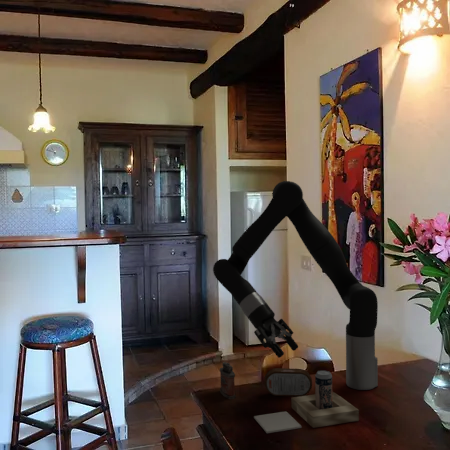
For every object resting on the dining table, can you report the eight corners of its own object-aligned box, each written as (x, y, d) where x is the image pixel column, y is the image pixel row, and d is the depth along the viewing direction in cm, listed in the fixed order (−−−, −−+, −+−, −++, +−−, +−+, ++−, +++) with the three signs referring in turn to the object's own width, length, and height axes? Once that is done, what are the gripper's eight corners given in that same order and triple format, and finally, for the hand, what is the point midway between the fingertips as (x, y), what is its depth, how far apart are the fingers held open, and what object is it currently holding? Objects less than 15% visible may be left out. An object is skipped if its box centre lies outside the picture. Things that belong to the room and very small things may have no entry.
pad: (286, 413, 142) (286, 411, 142) (301, 427, 132) (301, 426, 132) (253, 417, 139) (253, 416, 139) (266, 433, 129) (266, 431, 129)
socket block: (333, 401, 149) (333, 391, 149) (358, 420, 136) (358, 409, 136) (291, 407, 145) (291, 397, 145) (313, 427, 132) (313, 416, 132)
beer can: (322, 418, 137) (322, 376, 137) (312, 412, 142) (311, 371, 141) (336, 415, 140) (335, 373, 139) (325, 409, 144) (325, 368, 143)
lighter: (217, 390, 159) (217, 360, 159) (227, 389, 161) (226, 359, 160) (227, 399, 152) (227, 368, 152) (237, 397, 153) (237, 366, 153)
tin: (312, 394, 156) (311, 368, 155) (312, 398, 152) (312, 371, 152) (264, 393, 157) (264, 367, 157) (264, 396, 154) (264, 370, 154)
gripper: (250, 306, 146) (284, 351, 140) (275, 298, 157) (308, 339, 151) (236, 321, 149) (269, 365, 143) (262, 313, 161) (293, 353, 154)
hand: (289, 352), depth 147 cm, fingers open, 8 cm apart
